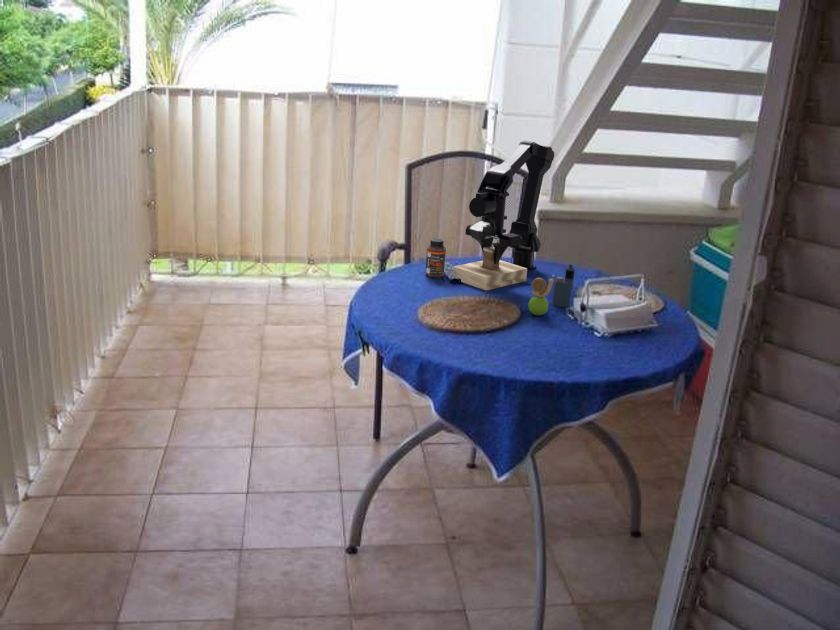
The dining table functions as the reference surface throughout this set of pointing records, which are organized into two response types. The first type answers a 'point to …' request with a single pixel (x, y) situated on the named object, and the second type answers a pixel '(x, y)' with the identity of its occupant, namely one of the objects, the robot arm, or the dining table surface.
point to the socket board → (490, 275)
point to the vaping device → (563, 288)
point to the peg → (489, 258)
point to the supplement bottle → (435, 258)
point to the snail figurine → (540, 296)
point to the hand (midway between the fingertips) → (491, 262)
